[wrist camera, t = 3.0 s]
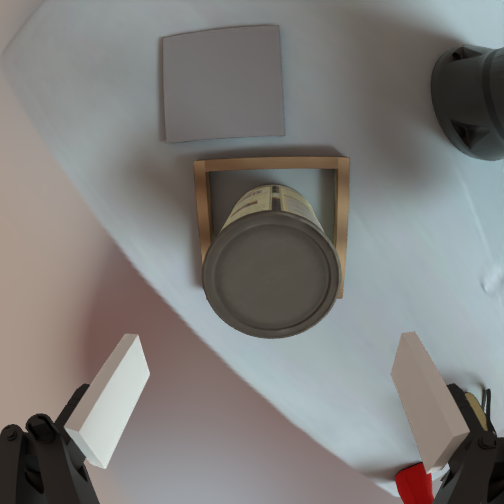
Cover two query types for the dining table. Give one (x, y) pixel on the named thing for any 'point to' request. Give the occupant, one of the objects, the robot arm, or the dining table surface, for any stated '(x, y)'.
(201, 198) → the frame
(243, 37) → the mat
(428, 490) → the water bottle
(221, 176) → the dining table surface
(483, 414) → the clutch purse
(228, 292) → the coffee can
